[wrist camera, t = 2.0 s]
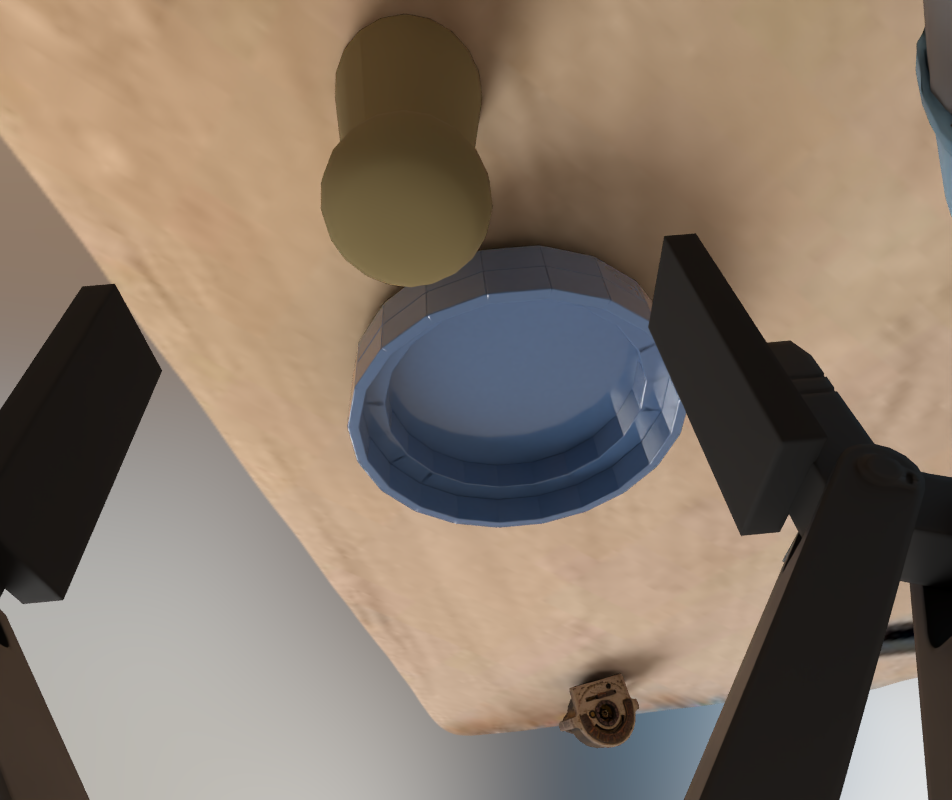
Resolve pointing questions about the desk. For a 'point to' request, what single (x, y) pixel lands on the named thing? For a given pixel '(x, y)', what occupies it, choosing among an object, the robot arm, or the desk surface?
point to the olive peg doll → (407, 154)
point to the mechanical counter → (601, 712)
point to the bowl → (513, 390)
